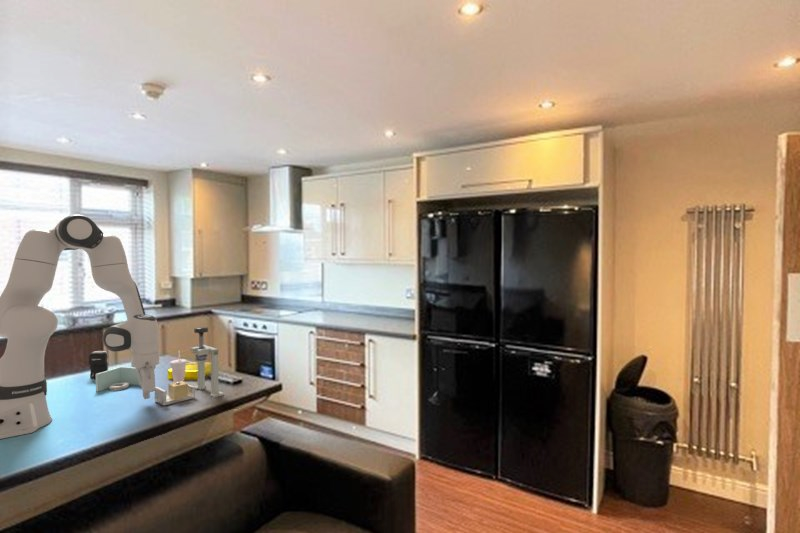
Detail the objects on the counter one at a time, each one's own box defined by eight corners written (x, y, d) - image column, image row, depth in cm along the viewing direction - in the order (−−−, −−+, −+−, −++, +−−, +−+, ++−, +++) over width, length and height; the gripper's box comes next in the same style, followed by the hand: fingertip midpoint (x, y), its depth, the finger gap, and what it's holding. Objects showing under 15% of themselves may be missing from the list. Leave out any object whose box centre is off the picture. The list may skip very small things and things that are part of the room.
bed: (163, 405, 161) (163, 391, 161) (154, 401, 166) (154, 387, 166) (195, 397, 170) (194, 384, 170) (185, 393, 175) (185, 380, 175)
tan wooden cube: (187, 395, 169) (187, 382, 169) (174, 398, 165) (174, 385, 165) (182, 392, 172) (181, 379, 172) (168, 395, 169) (168, 382, 168)
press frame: (206, 399, 168) (206, 352, 168) (185, 390, 179) (184, 345, 179) (223, 395, 174) (223, 349, 173) (202, 386, 185) (201, 343, 184)
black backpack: (87, 379, 193) (87, 353, 192) (92, 376, 197) (91, 351, 196) (105, 378, 194) (104, 352, 194) (109, 376, 198) (108, 350, 197)
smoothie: (190, 381, 190) (189, 349, 190) (181, 386, 184) (181, 352, 183) (176, 381, 191) (175, 348, 190) (166, 385, 185) (166, 352, 184)
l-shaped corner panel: (96, 392, 177) (95, 374, 177) (121, 383, 189) (121, 366, 188) (120, 395, 174) (120, 376, 174) (145, 386, 186) (144, 368, 186)
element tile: (165, 380, 194) (165, 369, 193) (183, 370, 209) (183, 360, 208) (199, 380, 193) (199, 370, 193) (215, 371, 208) (214, 361, 208)
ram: (198, 361, 172) (197, 329, 171) (192, 359, 175) (191, 328, 174) (210, 359, 176) (210, 328, 175) (204, 357, 179) (204, 326, 178)
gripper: (159, 365, 153) (160, 404, 154) (151, 353, 170) (152, 388, 170) (138, 367, 149) (139, 408, 150) (132, 355, 166) (133, 391, 167)
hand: (146, 397), depth 160 cm, fingers closed
